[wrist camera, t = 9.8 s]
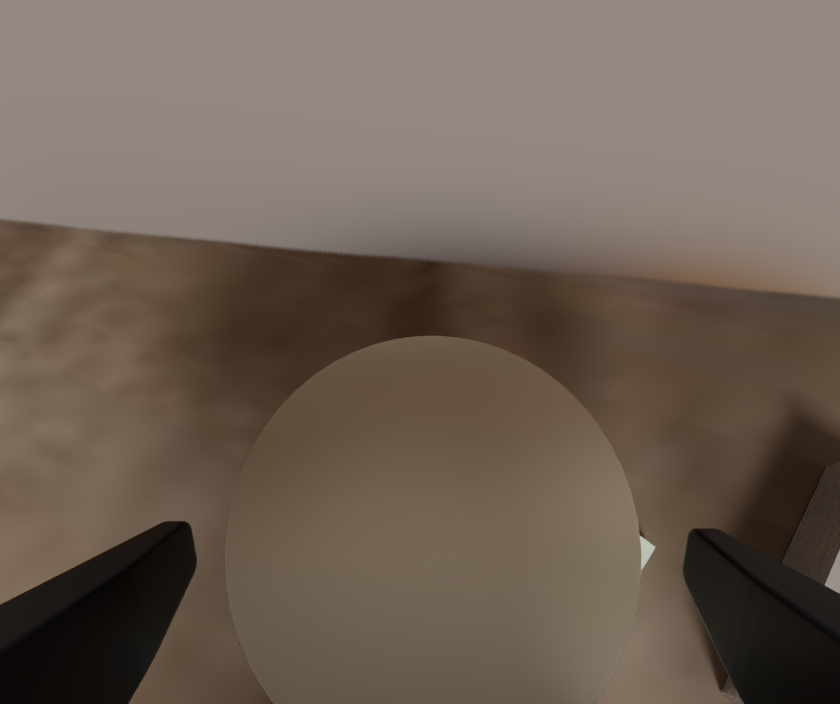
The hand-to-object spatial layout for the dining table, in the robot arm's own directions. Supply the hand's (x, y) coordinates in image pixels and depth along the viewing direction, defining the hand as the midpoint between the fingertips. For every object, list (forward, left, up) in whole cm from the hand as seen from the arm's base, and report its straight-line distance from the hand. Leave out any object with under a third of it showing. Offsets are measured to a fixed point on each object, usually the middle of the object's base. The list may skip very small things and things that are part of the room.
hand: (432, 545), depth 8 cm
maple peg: (0, 0, -9) cm, 9 cm away
